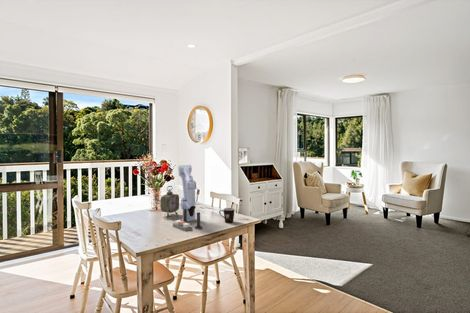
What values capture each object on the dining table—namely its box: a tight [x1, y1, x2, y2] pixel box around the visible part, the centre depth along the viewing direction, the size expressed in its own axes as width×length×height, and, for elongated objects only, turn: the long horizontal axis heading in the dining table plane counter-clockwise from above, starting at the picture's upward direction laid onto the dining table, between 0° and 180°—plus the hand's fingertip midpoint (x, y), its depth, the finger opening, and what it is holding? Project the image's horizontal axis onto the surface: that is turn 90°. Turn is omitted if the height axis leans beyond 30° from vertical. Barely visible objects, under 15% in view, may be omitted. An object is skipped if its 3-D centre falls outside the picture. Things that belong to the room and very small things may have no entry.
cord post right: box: [194, 211, 203, 230], centre depth 201 cm, size 5×5×11 cm
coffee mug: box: [218, 207, 235, 224], centre depth 217 cm, size 12×9×10 cm
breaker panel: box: [172, 219, 193, 232], centre depth 202 cm, size 6×16×4 cm, turn 44°
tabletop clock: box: [159, 185, 180, 218], centre depth 236 cm, size 14×9×25 cm, turn 153°
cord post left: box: [182, 209, 189, 223], centre depth 213 cm, size 5×5×11 cm
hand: (191, 216), depth 207 cm, fingers closed
